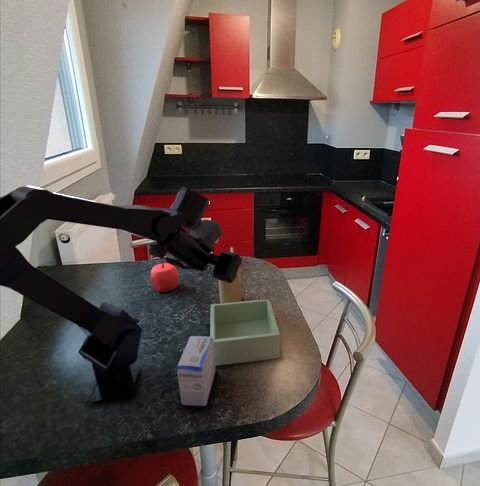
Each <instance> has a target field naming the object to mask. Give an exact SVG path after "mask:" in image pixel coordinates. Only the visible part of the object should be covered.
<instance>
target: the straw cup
mask: <svg viewBox="0 0 480 486" xmlns="http://www.w3.org/2000/svg"><path fill="white" fill-rule="evenodd" d="M230 252H232V253H234V247H232V246H231V247H230ZM218 291H219V304H221V303H232V302H242V280H241V266H240V267H239V269H238V271H237V277H236V279H234V280H233V282H231V283H227V282H224V281H221V280H218Z"/></svg>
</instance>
